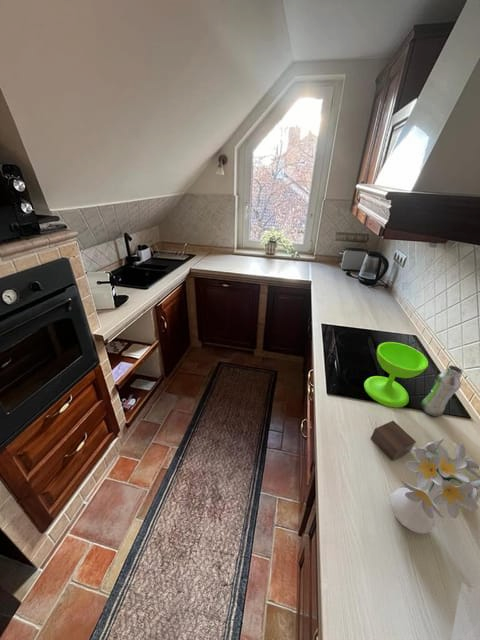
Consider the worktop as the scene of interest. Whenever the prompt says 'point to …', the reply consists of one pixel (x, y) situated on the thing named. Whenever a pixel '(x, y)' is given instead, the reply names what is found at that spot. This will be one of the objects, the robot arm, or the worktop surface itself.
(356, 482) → the worktop surface
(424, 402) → the plastic bottle
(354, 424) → the worktop surface
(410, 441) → the walnut block
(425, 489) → the flower vase
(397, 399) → the wineglass
